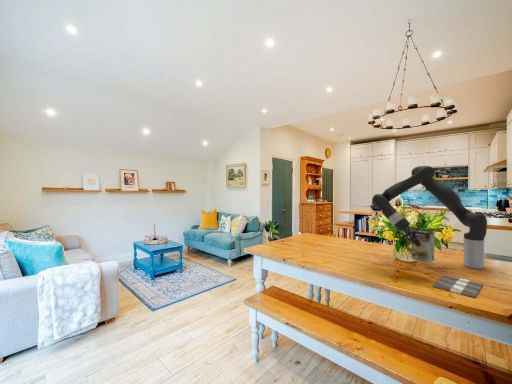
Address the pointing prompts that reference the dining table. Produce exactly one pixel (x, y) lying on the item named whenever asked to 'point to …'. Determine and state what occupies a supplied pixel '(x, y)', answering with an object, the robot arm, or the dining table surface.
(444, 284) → the grey white flat rectangle
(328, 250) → the dining table surface
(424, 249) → the coffee box
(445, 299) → the dining table surface
